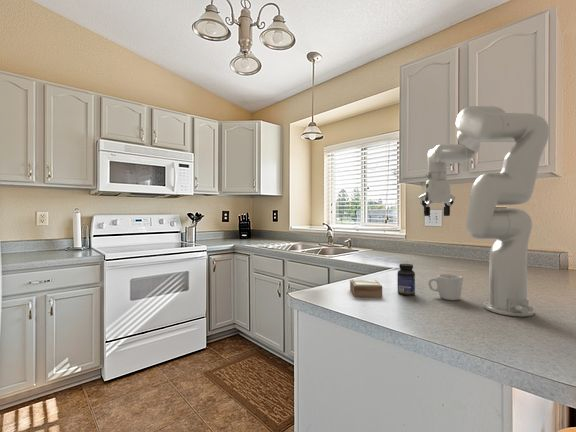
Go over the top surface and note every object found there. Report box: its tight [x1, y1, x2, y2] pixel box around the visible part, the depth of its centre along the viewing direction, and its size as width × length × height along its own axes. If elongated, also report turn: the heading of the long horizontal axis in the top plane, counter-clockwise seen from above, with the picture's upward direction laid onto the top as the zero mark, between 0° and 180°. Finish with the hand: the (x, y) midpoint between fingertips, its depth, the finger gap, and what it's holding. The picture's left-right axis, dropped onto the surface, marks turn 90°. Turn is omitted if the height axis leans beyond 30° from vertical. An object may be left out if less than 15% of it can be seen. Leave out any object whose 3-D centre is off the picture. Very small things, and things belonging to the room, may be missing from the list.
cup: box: [428, 273, 464, 301], centre depth 108 cm, size 11×8×8 cm
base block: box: [349, 279, 383, 298], centre depth 115 cm, size 10×10×4 cm
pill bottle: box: [397, 263, 416, 297], centre depth 114 cm, size 6×6×11 cm
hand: (436, 215), depth 135 cm, fingers open, 9 cm apart
